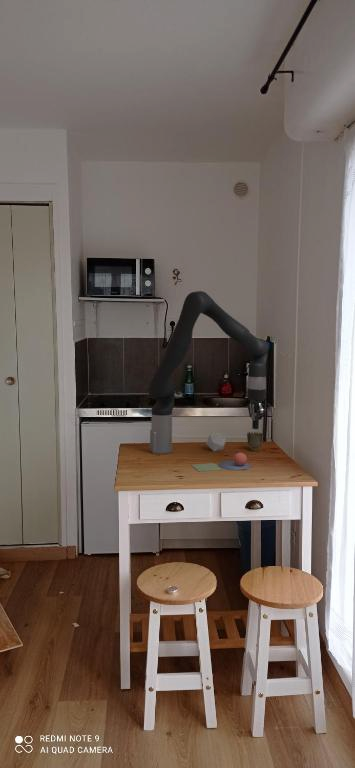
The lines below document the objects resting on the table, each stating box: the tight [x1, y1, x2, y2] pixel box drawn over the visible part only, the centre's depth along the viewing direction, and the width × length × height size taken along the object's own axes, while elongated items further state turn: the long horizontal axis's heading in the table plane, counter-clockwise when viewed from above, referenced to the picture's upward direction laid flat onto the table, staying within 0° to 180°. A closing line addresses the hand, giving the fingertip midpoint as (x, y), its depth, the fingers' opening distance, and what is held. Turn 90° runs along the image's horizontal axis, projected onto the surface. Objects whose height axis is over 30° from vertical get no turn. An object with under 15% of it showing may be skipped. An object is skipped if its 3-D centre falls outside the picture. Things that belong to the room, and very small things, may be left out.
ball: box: [233, 452, 248, 466], centre depth 239 cm, size 6×6×6 cm
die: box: [205, 432, 227, 452], centre depth 265 cm, size 8×9×10 cm
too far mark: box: [191, 462, 224, 473], centre depth 236 cm, size 10×10×1 cm
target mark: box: [217, 460, 251, 471], centre depth 239 cm, size 13×13×1 cm
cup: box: [246, 431, 264, 452], centre depth 265 cm, size 8×7×8 cm
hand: (255, 428), depth 240 cm, fingers closed
